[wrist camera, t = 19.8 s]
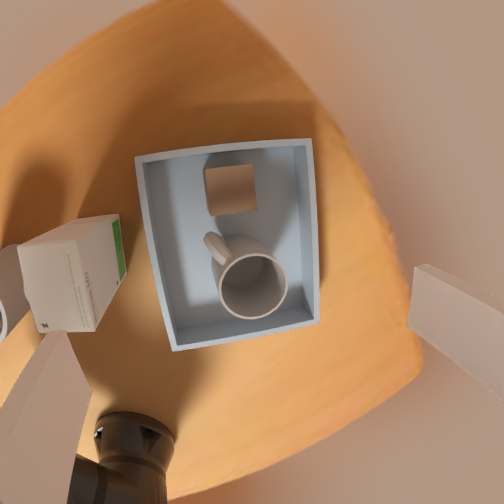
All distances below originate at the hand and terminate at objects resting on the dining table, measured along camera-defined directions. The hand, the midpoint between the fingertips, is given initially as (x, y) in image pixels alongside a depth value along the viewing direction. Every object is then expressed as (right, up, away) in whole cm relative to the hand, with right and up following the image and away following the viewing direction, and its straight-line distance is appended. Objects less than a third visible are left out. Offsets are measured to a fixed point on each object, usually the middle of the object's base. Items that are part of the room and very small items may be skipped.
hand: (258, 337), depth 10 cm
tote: (-3, +4, +29) cm, 29 cm away
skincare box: (-20, +4, +25) cm, 32 cm away
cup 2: (-3, +3, +29) cm, 29 cm away
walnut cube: (-3, +11, +26) cm, 28 cm away
